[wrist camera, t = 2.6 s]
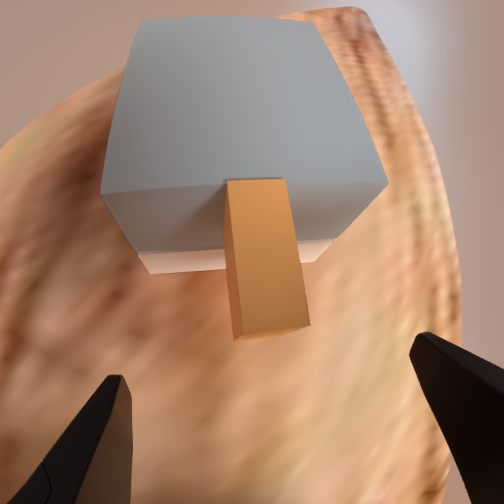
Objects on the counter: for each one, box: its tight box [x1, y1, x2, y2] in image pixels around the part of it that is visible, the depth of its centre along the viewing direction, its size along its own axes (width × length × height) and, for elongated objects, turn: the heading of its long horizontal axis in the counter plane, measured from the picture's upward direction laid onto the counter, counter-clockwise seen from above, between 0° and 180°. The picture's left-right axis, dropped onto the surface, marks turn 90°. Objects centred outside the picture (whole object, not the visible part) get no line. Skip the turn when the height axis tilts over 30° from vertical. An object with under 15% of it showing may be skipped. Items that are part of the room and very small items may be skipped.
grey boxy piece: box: [100, 16, 389, 341], centre depth 14 cm, size 18×11×6 cm, turn 7°
